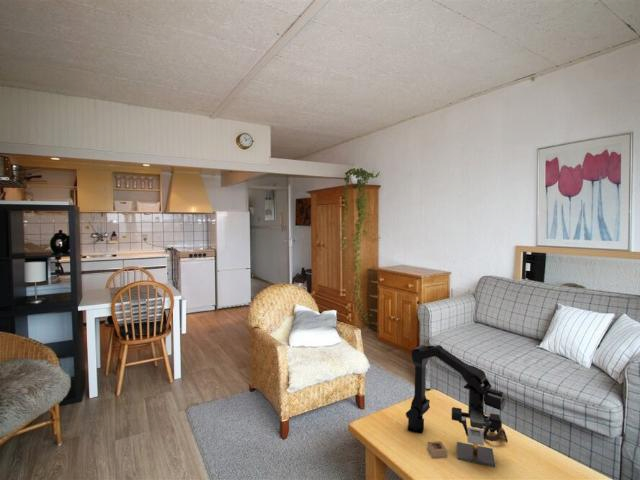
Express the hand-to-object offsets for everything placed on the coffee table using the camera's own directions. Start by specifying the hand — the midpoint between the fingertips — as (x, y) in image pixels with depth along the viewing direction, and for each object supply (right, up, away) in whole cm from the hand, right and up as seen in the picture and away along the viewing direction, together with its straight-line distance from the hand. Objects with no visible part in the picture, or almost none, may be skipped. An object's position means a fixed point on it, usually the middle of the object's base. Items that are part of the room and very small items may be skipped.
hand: (475, 437), depth 146 cm
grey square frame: (0, -1, 0) cm, 1 cm away
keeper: (0, -8, +1) cm, 8 cm away
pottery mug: (+14, -7, +11) cm, 19 cm away
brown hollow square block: (-15, -8, +2) cm, 17 cm away
